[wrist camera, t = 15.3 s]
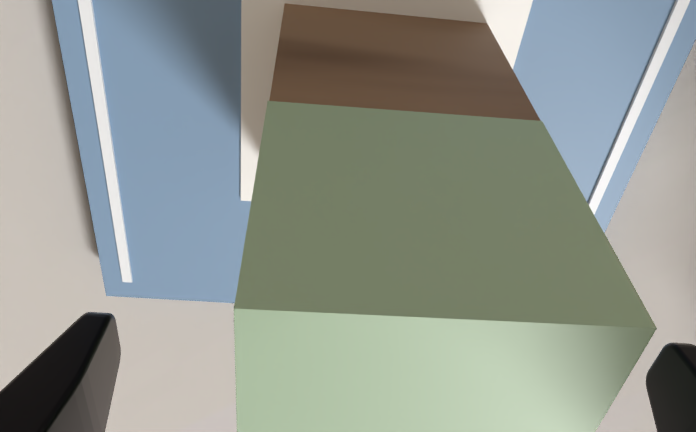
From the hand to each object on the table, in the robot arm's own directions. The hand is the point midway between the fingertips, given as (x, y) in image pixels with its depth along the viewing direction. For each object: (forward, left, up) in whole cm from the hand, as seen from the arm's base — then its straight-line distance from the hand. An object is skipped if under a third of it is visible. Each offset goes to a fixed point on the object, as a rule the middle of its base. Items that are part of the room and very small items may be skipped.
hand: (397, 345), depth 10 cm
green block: (0, 0, -3) cm, 3 cm away
